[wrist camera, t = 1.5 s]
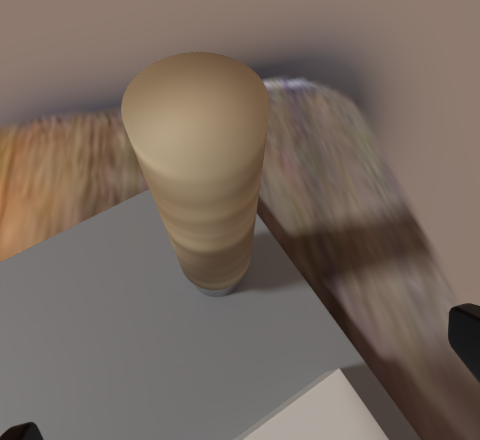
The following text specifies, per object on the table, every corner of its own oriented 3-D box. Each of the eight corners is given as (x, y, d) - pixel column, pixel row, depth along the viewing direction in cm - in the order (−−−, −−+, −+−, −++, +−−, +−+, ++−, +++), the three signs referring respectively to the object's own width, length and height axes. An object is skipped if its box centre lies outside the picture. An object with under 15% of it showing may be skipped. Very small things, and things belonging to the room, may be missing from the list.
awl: (260, 281, 20) (299, 121, 8) (205, 315, 19) (162, 189, 8) (227, 231, 21) (221, 35, 10) (174, 261, 20) (97, 84, 9)
